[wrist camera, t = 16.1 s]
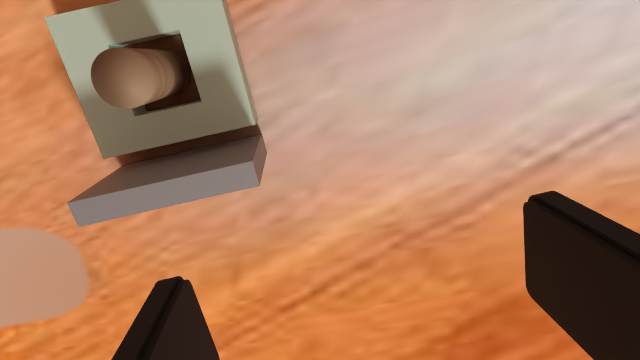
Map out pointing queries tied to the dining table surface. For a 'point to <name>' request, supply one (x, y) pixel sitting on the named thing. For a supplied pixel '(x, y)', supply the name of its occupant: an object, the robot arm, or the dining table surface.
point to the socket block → (148, 24)
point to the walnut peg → (138, 75)
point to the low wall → (172, 180)
